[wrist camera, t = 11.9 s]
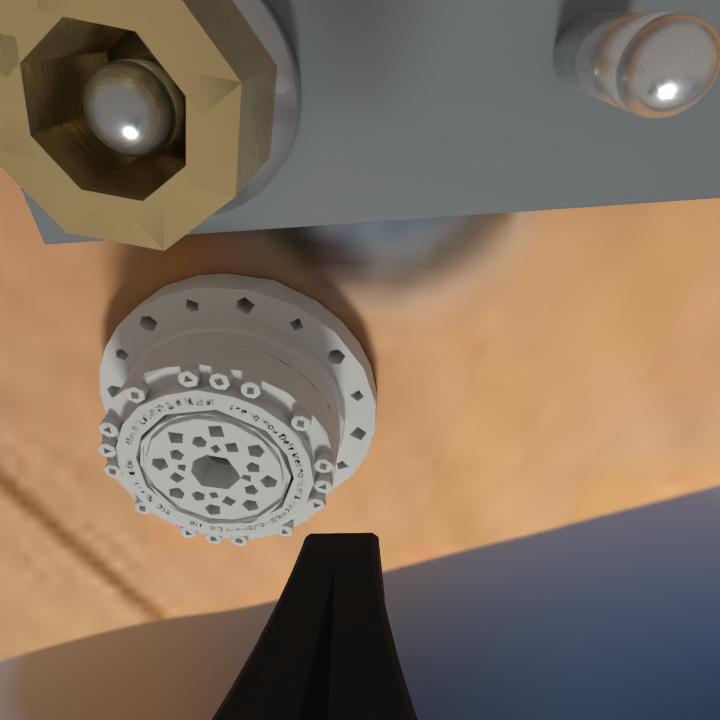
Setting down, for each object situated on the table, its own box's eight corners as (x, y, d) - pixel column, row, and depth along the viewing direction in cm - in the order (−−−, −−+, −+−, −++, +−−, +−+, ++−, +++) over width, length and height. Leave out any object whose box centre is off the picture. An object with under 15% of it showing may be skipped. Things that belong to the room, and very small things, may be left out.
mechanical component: (402, 298, 18) (105, 243, 18) (403, 371, 14) (28, 304, 14) (353, 500, 24) (124, 462, 23) (345, 591, 20) (72, 548, 19)
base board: (818, -180, 11) (852, -195, 11) (721, 186, 15) (740, 196, 15) (-57, -66, 13) (-88, -71, 12) (62, 233, 17) (44, 244, 16)
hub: (280, -72, 12) (231, -108, 8) (316, 197, 15) (291, 255, 12) (28, -41, 13) (-119, -62, 9) (114, 212, 16) (30, 271, 12)
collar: (168, -93, 11) (87, -131, 8) (315, 122, 13) (292, 153, 10) (23, 63, 13) (-87, 78, 10) (173, 232, 15) (118, 285, 12)
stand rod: (627, 8, 12) (756, 6, 8) (616, 85, 13) (726, 121, 9) (556, 15, 13) (643, 17, 8) (549, 91, 13) (625, 130, 9)
